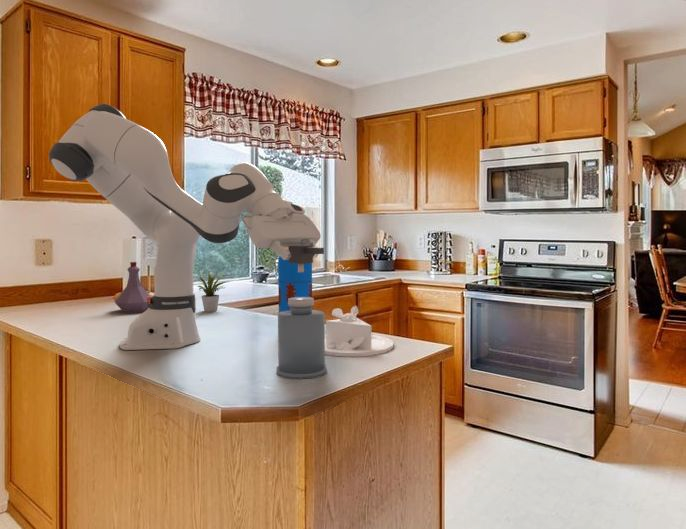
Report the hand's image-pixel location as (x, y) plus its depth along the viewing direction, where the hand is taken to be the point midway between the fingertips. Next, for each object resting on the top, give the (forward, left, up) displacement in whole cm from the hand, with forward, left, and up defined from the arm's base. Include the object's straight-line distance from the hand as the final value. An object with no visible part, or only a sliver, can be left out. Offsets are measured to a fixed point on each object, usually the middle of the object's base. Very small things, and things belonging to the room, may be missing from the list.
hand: (302, 257), depth 119 cm
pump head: (+1, -1, -4) cm, 4 cm away
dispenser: (0, +1, -27) cm, 27 cm away
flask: (-43, +109, -28) cm, 120 cm away
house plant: (-14, +97, -28) cm, 101 cm away
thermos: (+9, +44, -28) cm, 52 cm away
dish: (+20, +22, -28) cm, 41 cm away
